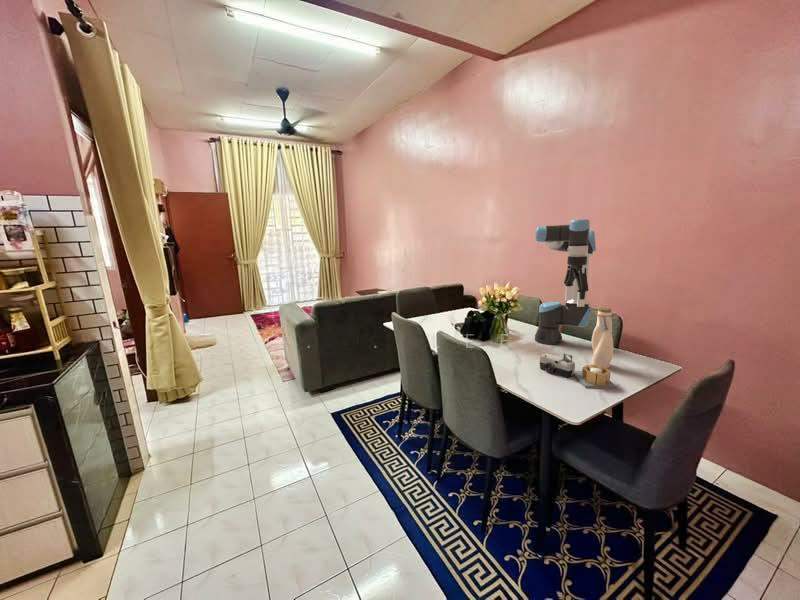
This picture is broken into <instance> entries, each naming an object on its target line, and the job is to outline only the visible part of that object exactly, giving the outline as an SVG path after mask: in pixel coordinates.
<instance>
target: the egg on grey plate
mask: <svg viewBox="0 0 800 600" xmlns="http://www.w3.org/2000/svg"><path fill="white" fill-rule="evenodd" d="M590 372H594V373H602V370H601V369H599V368H590ZM573 377H575V379H576V380H577V381H578V382H579V383H580V384H581V385H582V386H583V387H584V389H617V385H616V384H614V382H612V381H611V380H610V383H609V384H608V385H605V386H596V385H592V384H589V383H586V382H585V381H584V380H583V379H582V370H574V374H573Z"/></svg>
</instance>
